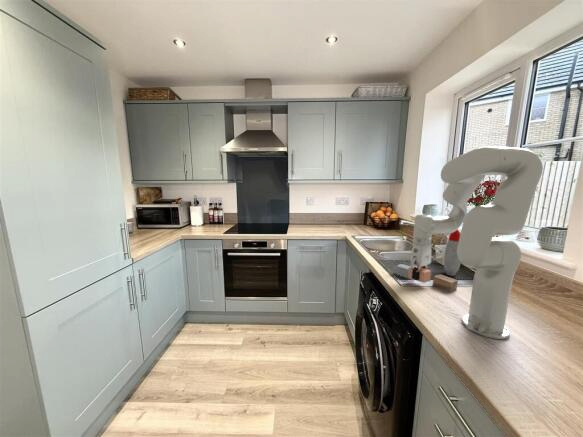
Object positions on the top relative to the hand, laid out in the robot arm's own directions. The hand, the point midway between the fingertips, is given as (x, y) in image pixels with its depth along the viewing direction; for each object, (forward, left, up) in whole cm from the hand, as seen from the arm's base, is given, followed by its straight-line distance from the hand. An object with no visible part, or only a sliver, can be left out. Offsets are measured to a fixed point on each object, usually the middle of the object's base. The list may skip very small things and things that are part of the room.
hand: (418, 277), depth 112 cm
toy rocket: (+28, -2, -4) cm, 29 cm away
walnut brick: (+7, -8, -4) cm, 12 cm away
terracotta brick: (0, 0, -1) cm, 1 cm away
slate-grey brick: (+5, +10, -4) cm, 12 cm away
